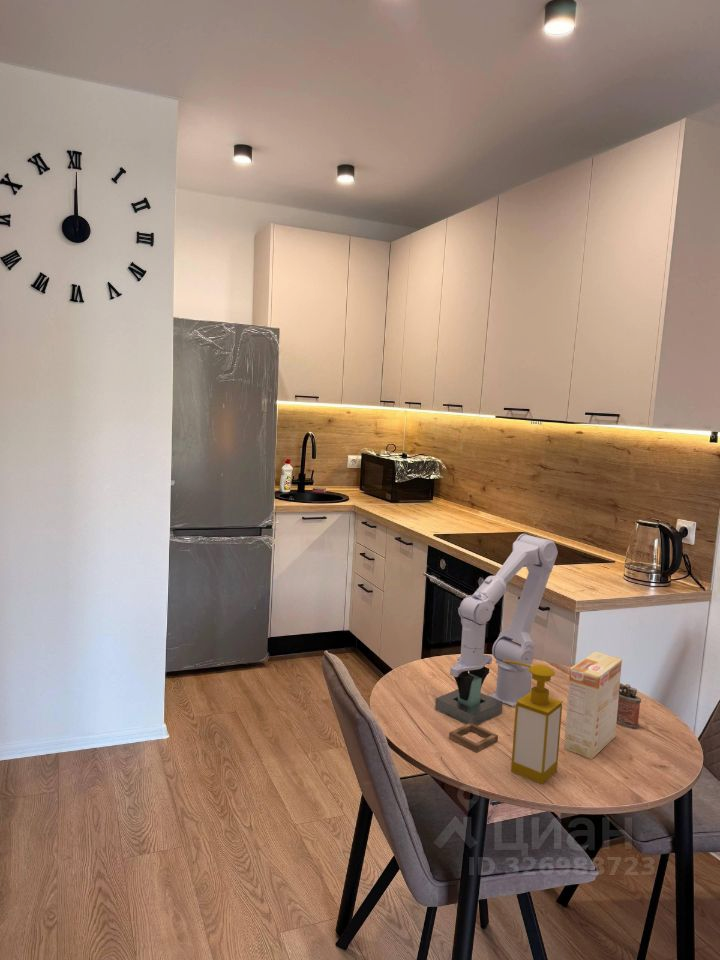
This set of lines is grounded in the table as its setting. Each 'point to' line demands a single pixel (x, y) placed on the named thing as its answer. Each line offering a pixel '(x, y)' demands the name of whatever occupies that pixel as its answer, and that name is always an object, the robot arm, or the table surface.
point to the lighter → (628, 707)
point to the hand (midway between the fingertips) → (469, 696)
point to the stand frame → (457, 737)
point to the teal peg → (473, 693)
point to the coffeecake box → (592, 704)
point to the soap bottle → (536, 729)
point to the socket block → (468, 708)
